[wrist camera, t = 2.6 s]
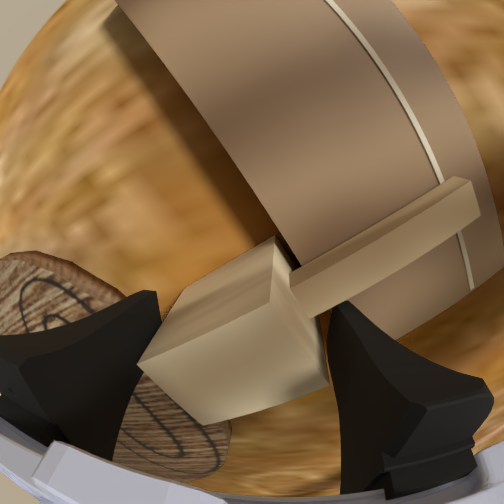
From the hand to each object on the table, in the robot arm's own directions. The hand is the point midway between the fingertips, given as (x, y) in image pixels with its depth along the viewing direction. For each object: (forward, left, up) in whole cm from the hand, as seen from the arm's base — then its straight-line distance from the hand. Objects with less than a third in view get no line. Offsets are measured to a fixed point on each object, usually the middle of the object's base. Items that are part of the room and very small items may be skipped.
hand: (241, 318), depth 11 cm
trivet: (-2, +17, -3) cm, 18 cm away
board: (+5, -8, -2) cm, 10 cm away
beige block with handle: (0, -3, -2) cm, 4 cm away
